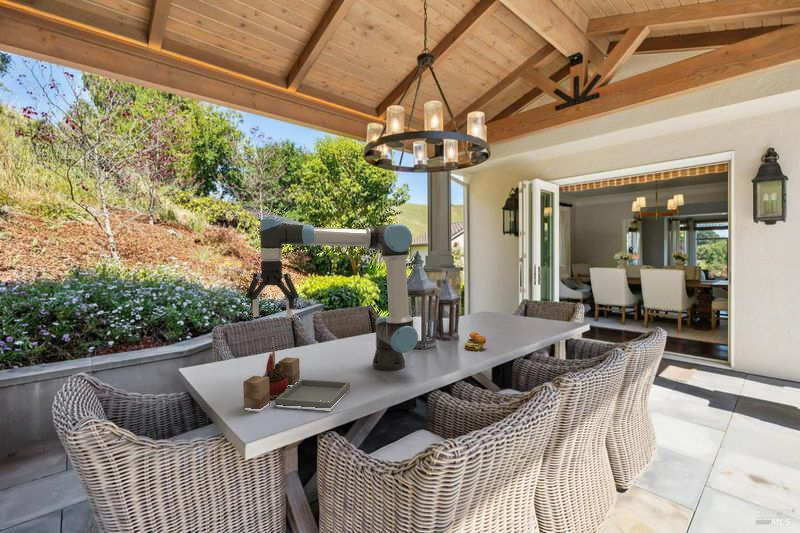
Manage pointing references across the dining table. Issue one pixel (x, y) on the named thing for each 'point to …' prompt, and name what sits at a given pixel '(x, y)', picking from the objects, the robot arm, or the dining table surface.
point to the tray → (313, 393)
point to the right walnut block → (290, 369)
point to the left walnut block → (256, 392)
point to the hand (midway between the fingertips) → (272, 317)
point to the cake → (275, 376)
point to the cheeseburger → (475, 342)
